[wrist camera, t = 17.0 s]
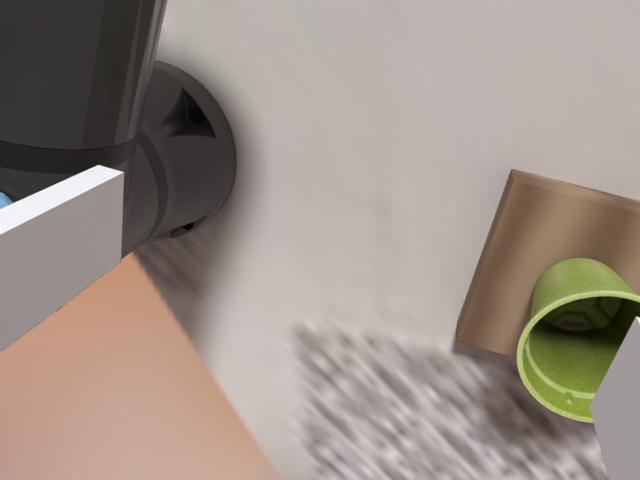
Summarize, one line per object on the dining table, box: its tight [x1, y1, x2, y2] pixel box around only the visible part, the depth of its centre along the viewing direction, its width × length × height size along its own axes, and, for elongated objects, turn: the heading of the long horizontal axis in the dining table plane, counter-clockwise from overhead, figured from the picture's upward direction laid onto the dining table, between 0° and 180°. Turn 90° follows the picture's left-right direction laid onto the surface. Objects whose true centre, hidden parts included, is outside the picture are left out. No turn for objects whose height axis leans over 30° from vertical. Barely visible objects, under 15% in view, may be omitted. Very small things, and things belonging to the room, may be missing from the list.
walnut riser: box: [456, 169, 640, 359], centre depth 43 cm, size 14×14×3 cm
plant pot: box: [517, 258, 640, 423], centre depth 38 cm, size 9×9×9 cm
